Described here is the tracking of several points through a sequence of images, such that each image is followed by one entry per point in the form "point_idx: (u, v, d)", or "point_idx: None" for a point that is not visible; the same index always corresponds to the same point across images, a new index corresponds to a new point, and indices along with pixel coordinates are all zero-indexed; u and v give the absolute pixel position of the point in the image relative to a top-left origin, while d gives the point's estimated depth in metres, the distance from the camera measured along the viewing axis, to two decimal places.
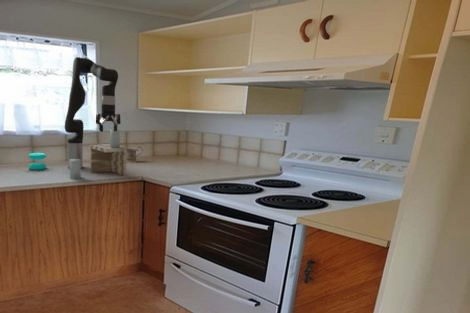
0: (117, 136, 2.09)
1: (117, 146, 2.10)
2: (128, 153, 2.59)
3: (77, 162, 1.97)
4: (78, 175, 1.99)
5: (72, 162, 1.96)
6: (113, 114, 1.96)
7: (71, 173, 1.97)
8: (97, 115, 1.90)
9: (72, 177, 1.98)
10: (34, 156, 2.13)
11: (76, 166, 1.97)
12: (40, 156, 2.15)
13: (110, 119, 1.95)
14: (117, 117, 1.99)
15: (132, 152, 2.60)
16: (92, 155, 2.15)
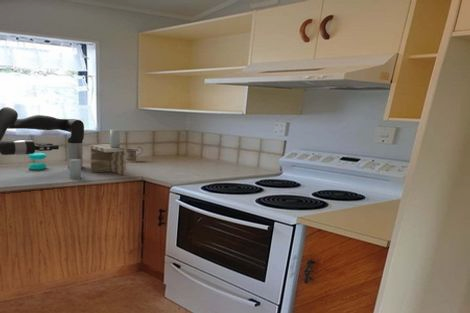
0: (117, 136, 2.09)
1: (117, 146, 2.10)
2: (128, 153, 2.59)
3: (77, 162, 1.97)
4: (78, 175, 1.99)
5: (72, 162, 1.96)
6: (37, 149, 1.80)
7: (71, 173, 1.97)
8: None
9: (72, 177, 1.98)
10: (34, 156, 2.13)
11: (76, 166, 1.97)
12: (40, 156, 2.15)
13: None
14: None
15: (132, 152, 2.60)
16: (92, 155, 2.15)
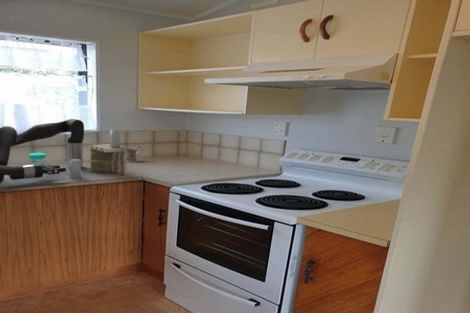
0: (117, 136, 2.09)
1: (117, 146, 2.10)
2: (128, 153, 2.59)
3: (77, 162, 1.97)
4: (78, 175, 1.99)
5: (72, 162, 1.96)
6: None
7: (71, 173, 1.97)
8: None
9: (72, 177, 1.98)
10: (34, 156, 2.13)
11: (76, 166, 1.97)
12: (40, 156, 2.15)
13: None
14: None
15: (132, 152, 2.60)
16: (92, 155, 2.15)
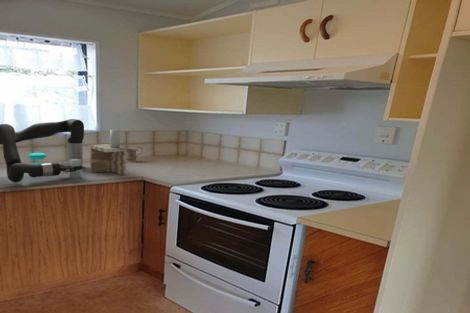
0: (117, 136, 2.09)
1: (117, 146, 2.10)
2: (128, 153, 2.59)
3: (77, 162, 1.97)
4: (78, 175, 1.99)
5: (72, 162, 1.96)
6: None
7: (71, 173, 1.97)
8: None
9: (72, 177, 1.98)
10: (34, 156, 2.13)
11: None
12: (40, 156, 2.15)
13: None
14: None
15: (132, 152, 2.60)
16: (92, 155, 2.15)
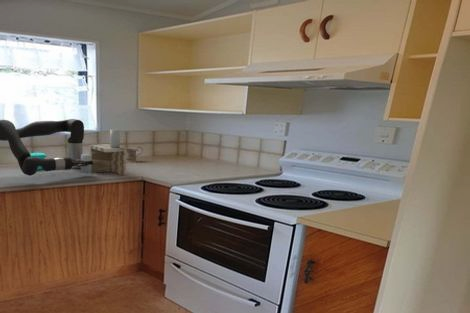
0: (117, 136, 2.09)
1: (117, 146, 2.10)
2: (128, 153, 2.59)
3: (88, 157, 2.02)
4: (89, 170, 2.03)
5: (83, 157, 2.01)
6: None
7: (82, 168, 2.02)
8: None
9: (83, 172, 2.02)
10: (34, 156, 2.13)
11: None
12: (40, 156, 2.15)
13: None
14: None
15: (132, 152, 2.60)
16: (92, 155, 2.15)
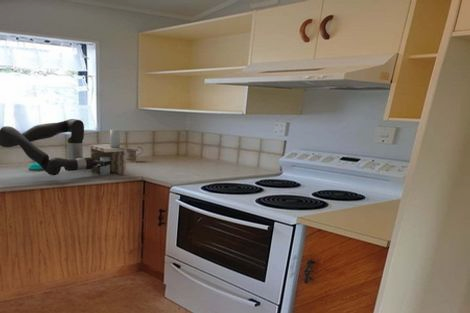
0: (117, 136, 2.09)
1: (117, 146, 2.10)
2: (128, 153, 2.59)
3: (107, 159, 2.11)
4: (108, 172, 2.13)
5: (102, 159, 2.10)
6: None
7: (101, 170, 2.11)
8: None
9: (102, 173, 2.12)
10: None
11: None
12: None
13: None
14: None
15: (132, 152, 2.60)
16: (92, 155, 2.15)
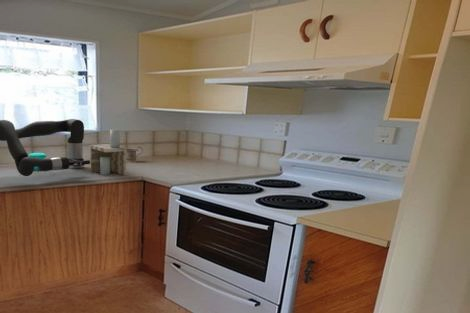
0: (117, 136, 2.09)
1: (117, 146, 2.10)
2: (128, 153, 2.59)
3: (107, 159, 2.11)
4: (108, 172, 2.13)
5: (103, 159, 2.10)
6: None
7: (101, 170, 2.11)
8: None
9: (102, 173, 2.12)
10: (34, 156, 2.13)
11: (106, 163, 2.11)
12: (40, 156, 2.15)
13: None
14: None
15: (132, 152, 2.60)
16: (92, 155, 2.15)
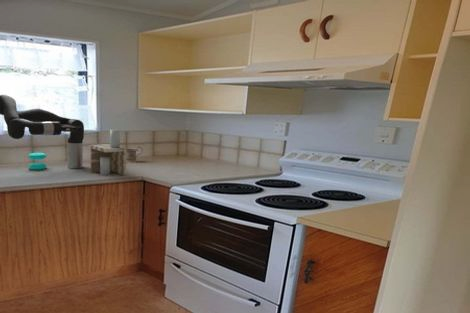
0: (117, 136, 2.09)
1: (117, 146, 2.10)
2: (128, 153, 2.59)
3: (107, 159, 2.11)
4: (108, 172, 2.13)
5: (103, 159, 2.10)
6: (63, 130, 1.89)
7: (101, 170, 2.11)
8: None
9: (102, 173, 2.12)
10: (34, 156, 2.13)
11: (106, 163, 2.11)
12: (40, 156, 2.15)
13: None
14: None
15: (132, 152, 2.60)
16: (92, 155, 2.15)
